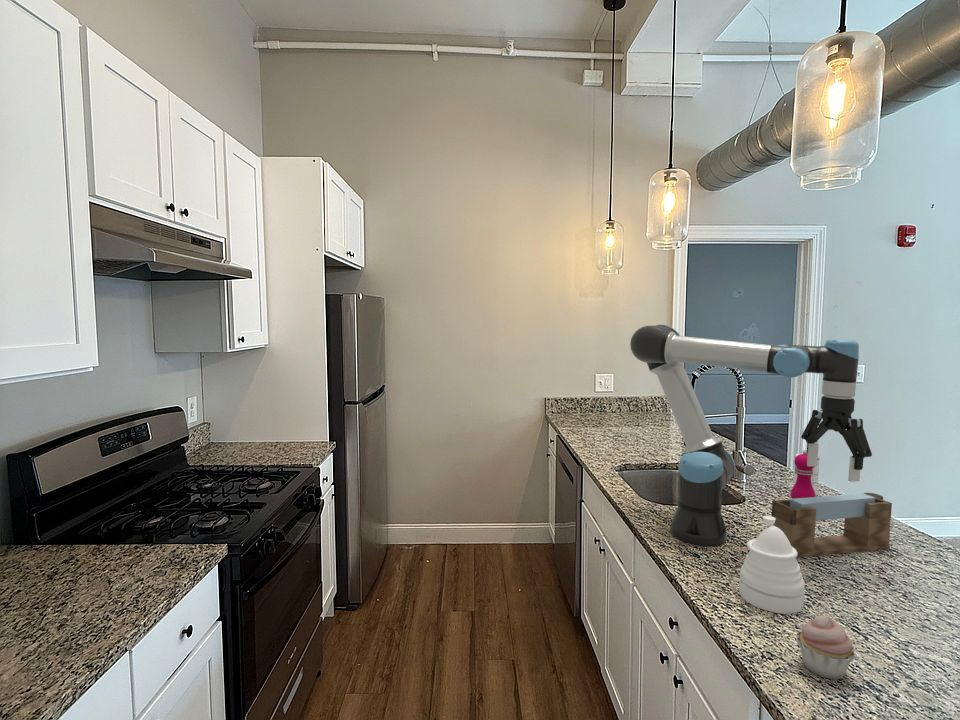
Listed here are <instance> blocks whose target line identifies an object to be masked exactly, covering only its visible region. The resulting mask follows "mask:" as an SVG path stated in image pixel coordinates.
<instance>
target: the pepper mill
mask: <svg viewBox="0 0 960 720" xmlns="http://www.w3.org/2000/svg"><path fill="white" fill-rule="evenodd" d="M801 453H803V454H800V455H798V456H796V458H795V457H794V466H795V465H796V466H797V468H796V473H797V481H796V483H795V485H794V484H793V485H794V486H793V487H792V488H791V491H790V499H797V498H809V497H817V496H816V494H815V491H814V489H813V487H812V484H811V476H812V475H813V470H812V469H813V468H814V467H815V466H807V457H808V453H807V449H803V450H802V452H801Z"/></svg>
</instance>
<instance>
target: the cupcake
mask: <svg viewBox="0 0 960 720" xmlns="http://www.w3.org/2000/svg"><path fill="white" fill-rule="evenodd" d="M796 636H797V637H795V640H796V642H797V645H798V647H799V648H800V653H801V658H802V662H803V665H804V666H805V667H806V669H808V671H810V672H812V673H813V674H815V675H817V676H819V677H822V678H825V679H829V680H840V679H843V677H844V676H845V675H846V672H847V670H848V668H849V666H850V664H851V662H852V661H853V660H854V659H855V658H856V657H857V654H856V653H855V651H856V649H857V648H856V647H855V646H853V641H852V640H851V638H850V637H849V635H848V634H847V632H846V630H845V629H844V628H843V627H842V626H841V624H839V623H837V622H836V621H835V620H834V619H832V618H831V617H830V616H829V615H819V616H816V617H814V619H813V618H812V620H808V621H807V622H806V623H805V624H804V625H803V626H802V628H801V631H800V630H799V631H797V632H796Z"/></svg>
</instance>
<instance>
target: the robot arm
mask: <svg viewBox="0 0 960 720" xmlns="http://www.w3.org/2000/svg"><path fill="white" fill-rule="evenodd" d="M629 347H630V351H631V354H633V356H634V357H635V358H636V359H637V360H639V361H640V362H643V363H646V364H647V367H648V369H649V372H650V373H652V374H654V375H656V376H657V378H658V380H659V384H660V386H661V388H662V390H663V391H662V392H663V393H664V395H665V397H666V400H667V403H668V406H669V407H670V410H671V412H672V415H673V417H674V419H675V422H676V424H677V426H678V429H679V431H680V434H681V436H682V439H683V441H684V443H685V447H684V450H683V455H682V456H681V457H680V459H679V461H678V462H679V464H678V466H677V467H678V485H677V486H678V487H677V489H678V491H677V494H678V495H677V507H676V510H675V513H674V515H673V518H672V520H671V523H670V534H671V535H672V536H674V537H675V538H676V539H678V540H680V541H682V542H684V543H688V544H690V545H691V544H693V545H698V546H705V547H707V546H709V547H711V546H712V547H714V546H720V545H722V544H724V543H726V542H727V535H728V533H727V529H726V524H725V522H724V519H723V514H722V494H723V489H724V488H725V486H727V485H728V484H729V483H730V482H731V481H732V480H733V478H734V475H735V470H736V463H735V460H734V458H733V456H732V455H731V453H729V451H727V450H726V449H725V447H724V445H723V443H722V440H721V439H720V438H717V437H715V436H714V435H713V432H712V429H711V427H710V425H709V422H708V420H707V418H706V416H705V413H704V410H703V409H702V406H701V404H700V402H699V400H698V397H697V395H696V392H695V389H694V388H693V385H692V383H691V380H690V378H689V376H688V373H687V371H686V369H685V366H684V365H685V364H684V363H687V364H695V365H704V366H712V367H719V368H727V369H733V370H734V369H736V370H742V371H751V372H760V373H767V374H773V375H774V374H775V375H780V376H782V377H785V378H796V377H800V376H801V375H803V374H804V373H808V374H822V386H821V387H822V388H821V394H822V396H821V399H820V400H821V401H820V409H813V410H812V412H811V417H810V419H809V420H808V423H807V425H806V426H805V428H804V430H803V432H802V434H801V436H800V438H801V440H805V442H806V450H807V453H808V457H807V466H817V461H818V456H819V449H820V448H819V447H820V446H819V445H820V444H819V439H821V438H822V437H823V436H824V434H826V433H827V432H828V431H834V432H838V434H840V435H841V436H842V437H843V440H844V442H845V444H846V445H847V447H848V448H849V450H850V453H851V454H852V455H851V456H849V466H848V468H849V469H848V477H847V482H851V483H853V482H860V479H861V471H862V470H863V468H864V467H863V465H864V459H865V458H870V457H873V454H872V450H871V447H870V444H869V442H868V439H867V435H866V433H865V430H864V421H863V419H862V418H852V414H853V412H855V404H856V400H855V399H854V397H855V396H856V391H857V389H856V388H857V377H858V368H859V360H860V359H859V356H860V355H859V354H860V353H859V352H860V351H859V349H860V347H859V342H857V341H856V340H852V339H835V338H834V339H832V338H831V339H827V340H826V341H825V344H824V345H819V346H817V345H800V344H778V345H774V344H773V345H772V344H763V343H754V342H745V341H744V342H743V341H733V340H724V339H717V338H716V339H715V338H714V339H713V338H706V337H695V336H684V335H681V334H680V333H679V332H678V331H677V330H676V329H674V327H671V326H669V325H666V324H656V325H645V326H641V327H639V328H638V329H637V330H635V332H634V333H633V334H632V336H631V337H630V344H629Z"/></svg>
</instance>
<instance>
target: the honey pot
mask: <svg viewBox="0 0 960 720" xmlns="http://www.w3.org/2000/svg"><path fill="white" fill-rule="evenodd" d="M775 520H776V519H775V518H774V517H772V515H763V516H762V521H763V523H764V524H765V525H766V528H764V529H763V530H761V532H760V533H759V534H758V536H757V537H756V538H751V539H749V540H748V541H747V543H746V547H747V548H748V550H749V551H748V553H747V554H746V556H745V559H744V561H743V565H741V568H740V570H739V585H738V586H739V589H738V590H739V591H738V593H739V595H740V596H741V598H742V599H743V600H744V601H746V602H747V603H749V604H750V605H752V606H754V607H755V608H759V609H761V610H763V611H768V612H771V613H776V614H787V615H789V614H796V613H798V612H801V611H802V610H803V609H804V604H805V587H806V586H805V585H806V583H805V579H804V578H803V575H802V574H803V573H802V572H801V567H800V564H799V563H798V558H796V557H797V554H798V553H797V551H796V549H794V548H793V547H792V546H791V544H790V542H789V540H788V539H787V537H786V535H785V534H784V533H783V531H782V530H781V529H779V528H778V527H775V526H774V525H773V524H774V523H775Z"/></svg>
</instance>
